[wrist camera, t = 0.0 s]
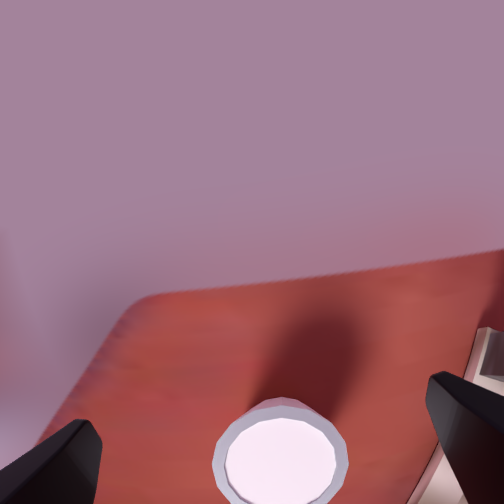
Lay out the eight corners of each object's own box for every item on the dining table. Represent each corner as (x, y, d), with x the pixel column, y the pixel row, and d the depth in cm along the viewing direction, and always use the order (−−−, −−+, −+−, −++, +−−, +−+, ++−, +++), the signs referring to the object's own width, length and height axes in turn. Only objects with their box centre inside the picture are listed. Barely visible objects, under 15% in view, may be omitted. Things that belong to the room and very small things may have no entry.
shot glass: (308, 373, 21) (321, 383, 14) (343, 454, 19) (366, 492, 12) (216, 408, 21) (190, 431, 14) (253, 487, 19) (242, 534, 12)
